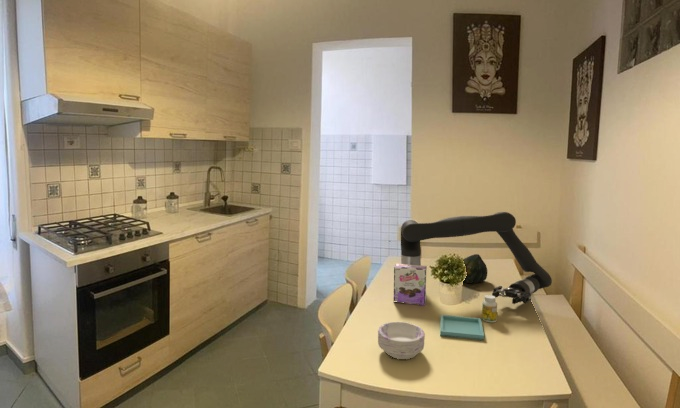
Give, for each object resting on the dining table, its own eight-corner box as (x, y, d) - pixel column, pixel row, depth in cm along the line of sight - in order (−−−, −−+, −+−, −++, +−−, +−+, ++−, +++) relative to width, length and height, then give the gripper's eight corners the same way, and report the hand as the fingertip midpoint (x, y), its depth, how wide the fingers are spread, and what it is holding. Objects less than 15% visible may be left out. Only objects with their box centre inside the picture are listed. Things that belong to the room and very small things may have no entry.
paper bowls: (432, 360, 131) (433, 337, 130) (388, 368, 126) (389, 344, 125) (411, 339, 145) (411, 318, 144) (371, 345, 141) (371, 323, 140)
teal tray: (440, 335, 148) (440, 331, 147) (440, 319, 162) (440, 314, 162) (483, 340, 144) (484, 335, 144) (480, 322, 158) (480, 318, 158)
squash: (446, 269, 208) (465, 251, 200) (462, 265, 218) (480, 247, 210) (464, 293, 201) (484, 275, 193) (479, 287, 211) (499, 270, 203)
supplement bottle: (499, 321, 159) (500, 297, 158) (489, 323, 157) (490, 300, 156) (489, 316, 164) (490, 293, 163) (478, 318, 162) (479, 295, 161)
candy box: (393, 302, 179) (393, 266, 177) (395, 298, 185) (395, 262, 183) (425, 305, 176) (425, 268, 173) (426, 300, 181) (426, 265, 179)
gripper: (506, 277, 182) (487, 285, 171) (539, 285, 171) (520, 294, 160) (505, 293, 183) (486, 302, 172) (538, 302, 172) (519, 312, 161)
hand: (503, 298), depth 166 cm, fingers open, 8 cm apart
